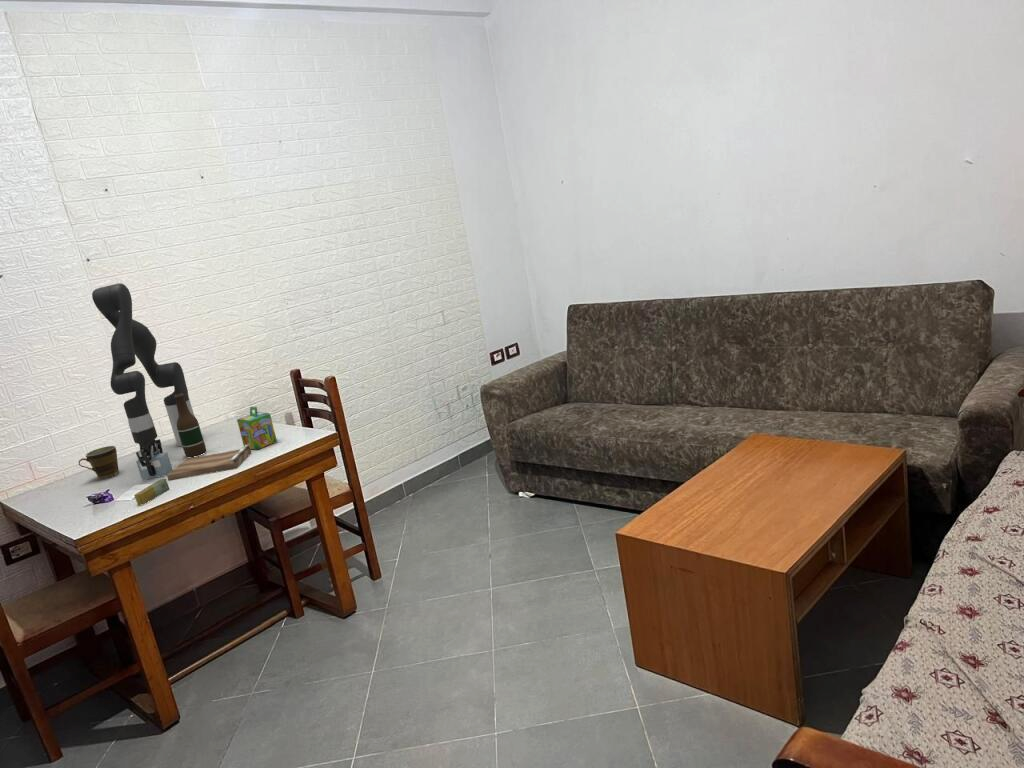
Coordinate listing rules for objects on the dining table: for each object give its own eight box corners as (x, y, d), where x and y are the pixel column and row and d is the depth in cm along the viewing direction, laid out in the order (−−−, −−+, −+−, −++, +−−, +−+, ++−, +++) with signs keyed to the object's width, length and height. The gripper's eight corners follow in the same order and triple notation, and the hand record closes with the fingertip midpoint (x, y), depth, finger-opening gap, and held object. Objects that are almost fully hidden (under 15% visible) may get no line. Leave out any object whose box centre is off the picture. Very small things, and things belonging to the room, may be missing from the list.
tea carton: (148, 474, 263) (142, 456, 261) (172, 470, 263) (167, 452, 261) (141, 479, 258) (135, 461, 256) (166, 475, 258) (160, 456, 256)
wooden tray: (187, 464, 267) (184, 456, 266) (251, 452, 266) (249, 444, 266) (168, 480, 251) (165, 471, 251) (236, 468, 251) (234, 459, 250)
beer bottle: (211, 449, 281) (193, 389, 275) (200, 456, 273) (182, 395, 268) (192, 452, 282) (174, 392, 276) (181, 459, 274) (163, 398, 269)
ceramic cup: (119, 469, 277) (110, 444, 275) (127, 472, 270) (119, 447, 268) (81, 482, 269) (73, 456, 266) (89, 486, 262) (80, 460, 259)
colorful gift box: (243, 448, 274) (233, 411, 270) (265, 439, 280) (255, 403, 277) (256, 450, 268) (246, 412, 264) (278, 441, 274) (268, 404, 271)
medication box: (163, 490, 243) (159, 479, 242) (170, 489, 242) (166, 478, 241) (137, 506, 231) (133, 494, 230) (144, 505, 231) (140, 493, 230)
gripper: (141, 423, 263) (155, 467, 267) (121, 435, 249) (136, 481, 253) (161, 419, 263) (175, 463, 267) (143, 431, 249) (158, 478, 253)
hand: (156, 472), depth 260 cm, fingers closed on tea carton, 5 cm apart
